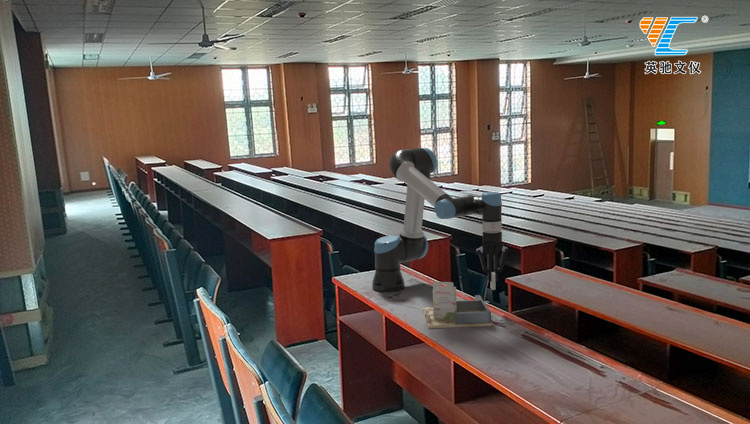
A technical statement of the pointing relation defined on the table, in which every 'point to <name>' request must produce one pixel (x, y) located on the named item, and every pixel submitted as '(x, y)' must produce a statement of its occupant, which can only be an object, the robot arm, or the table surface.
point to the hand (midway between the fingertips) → (493, 288)
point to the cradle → (448, 320)
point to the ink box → (444, 300)
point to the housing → (472, 316)
